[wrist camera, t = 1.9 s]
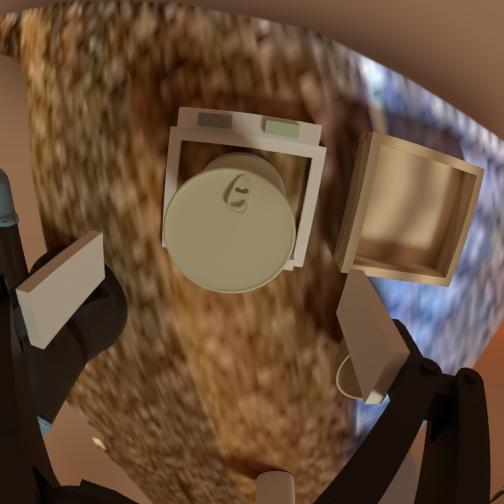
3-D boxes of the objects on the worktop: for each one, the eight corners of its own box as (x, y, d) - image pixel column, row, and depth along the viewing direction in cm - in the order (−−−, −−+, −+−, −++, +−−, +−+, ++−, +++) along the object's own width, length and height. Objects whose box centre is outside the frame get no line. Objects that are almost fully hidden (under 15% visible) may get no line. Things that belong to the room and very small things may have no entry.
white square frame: (163, 244, 34) (154, 256, 31) (174, 107, 28) (165, 105, 25) (301, 264, 34) (305, 278, 31) (328, 128, 29) (336, 128, 26)
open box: (333, 256, 34) (340, 272, 30) (360, 130, 29) (373, 131, 25) (434, 272, 34) (448, 286, 31) (465, 163, 29) (484, 169, 25)
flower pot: (345, 372, 41) (355, 410, 34) (312, 327, 38) (320, 366, 31) (407, 338, 38) (425, 372, 32) (383, 287, 35) (404, 321, 29)
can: (296, 166, 30) (316, 191, 19) (269, 249, 34) (272, 311, 23) (207, 141, 30) (175, 151, 19) (186, 226, 33) (151, 277, 22)
